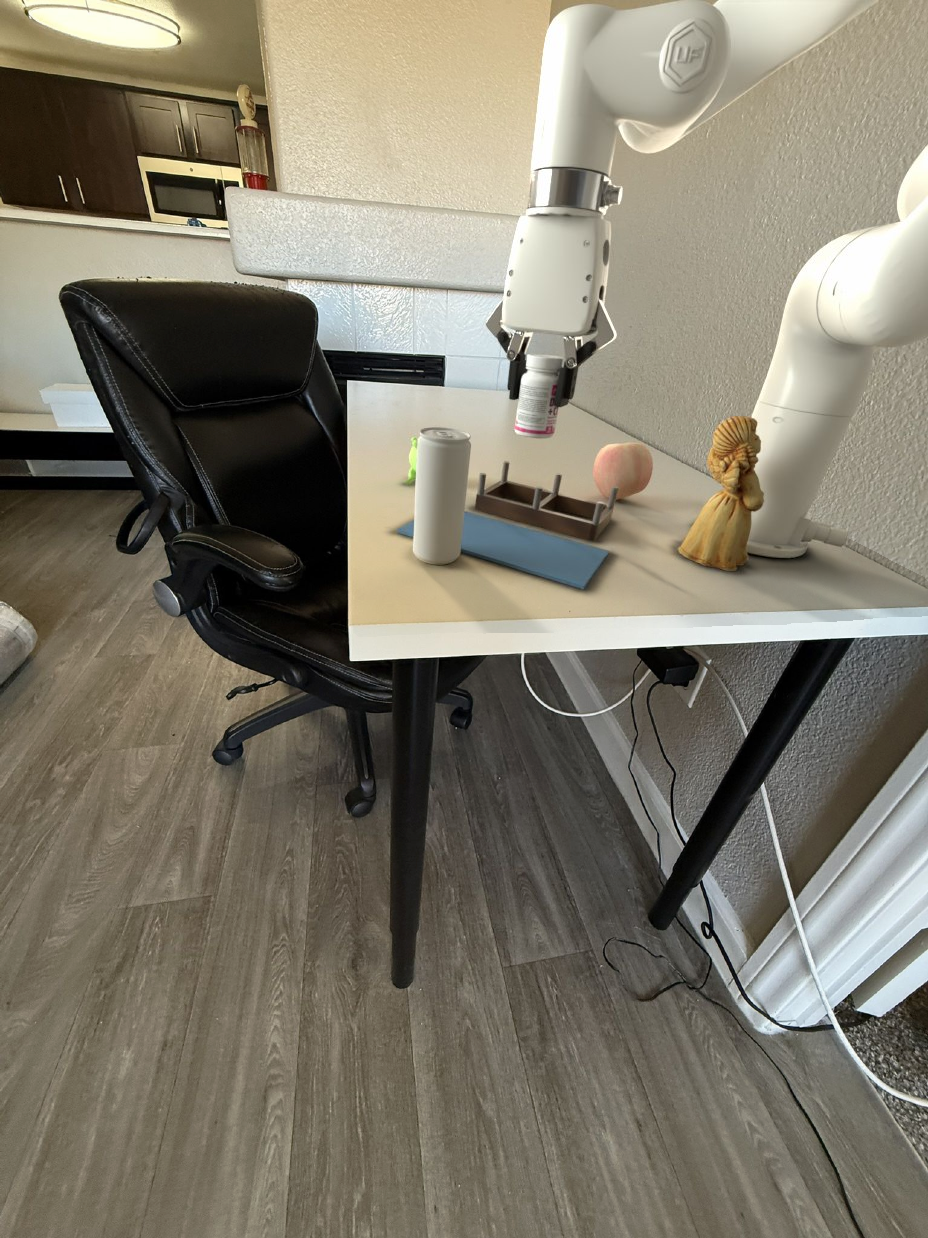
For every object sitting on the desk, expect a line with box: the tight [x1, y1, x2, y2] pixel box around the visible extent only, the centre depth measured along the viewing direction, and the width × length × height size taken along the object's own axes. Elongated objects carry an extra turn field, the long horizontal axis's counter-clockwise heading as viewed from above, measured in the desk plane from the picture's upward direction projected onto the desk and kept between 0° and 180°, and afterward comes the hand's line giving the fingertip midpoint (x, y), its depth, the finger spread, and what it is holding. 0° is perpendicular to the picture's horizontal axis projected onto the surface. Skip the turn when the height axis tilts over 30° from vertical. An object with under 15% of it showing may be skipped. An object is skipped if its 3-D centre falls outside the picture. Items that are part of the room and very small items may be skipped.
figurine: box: [677, 415, 764, 572], centre depth 55 cm, size 8×8×15 cm
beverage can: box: [412, 426, 472, 566], centre depth 49 cm, size 5×5×12 cm
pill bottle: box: [514, 353, 564, 440], centre depth 60 cm, size 5×5×8 cm
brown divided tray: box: [474, 460, 619, 542], centre depth 64 cm, size 15×8×4 cm, turn 63°
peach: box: [592, 442, 654, 501], centre depth 72 cm, size 8×8×8 cm
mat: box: [397, 511, 610, 590], centre depth 57 cm, size 21×10×1 cm, turn 63°
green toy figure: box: [405, 436, 418, 486], centre depth 72 cm, size 6×5×6 cm
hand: (538, 400), depth 60 cm, fingers closed on pill bottle, 4 cm apart
